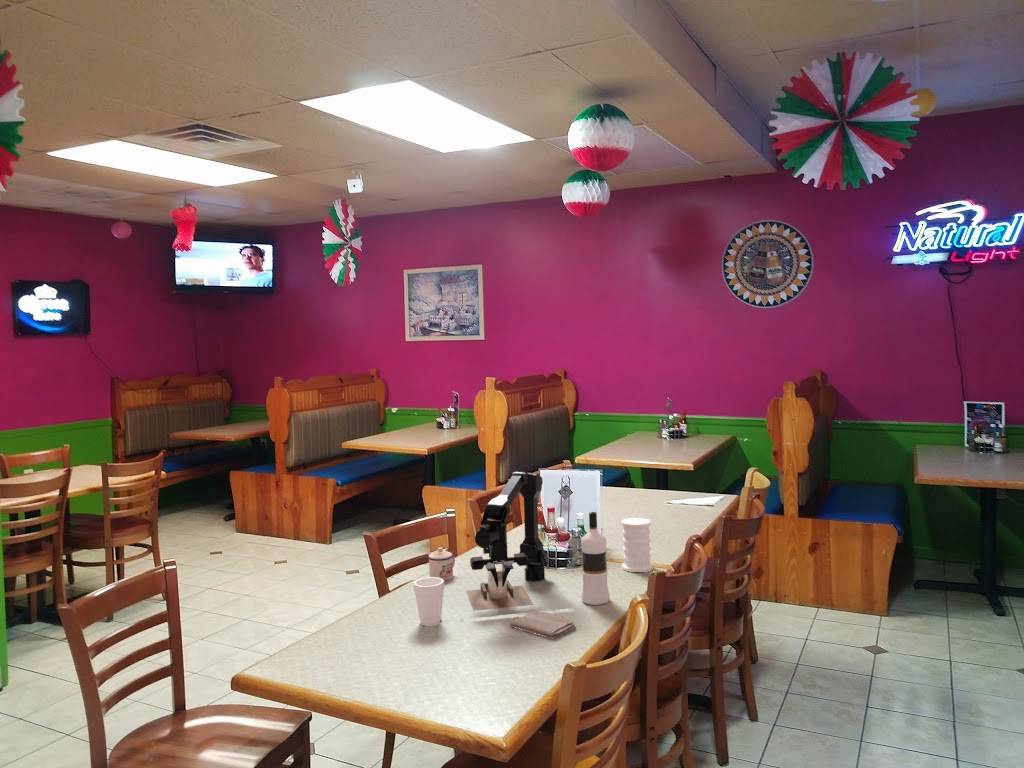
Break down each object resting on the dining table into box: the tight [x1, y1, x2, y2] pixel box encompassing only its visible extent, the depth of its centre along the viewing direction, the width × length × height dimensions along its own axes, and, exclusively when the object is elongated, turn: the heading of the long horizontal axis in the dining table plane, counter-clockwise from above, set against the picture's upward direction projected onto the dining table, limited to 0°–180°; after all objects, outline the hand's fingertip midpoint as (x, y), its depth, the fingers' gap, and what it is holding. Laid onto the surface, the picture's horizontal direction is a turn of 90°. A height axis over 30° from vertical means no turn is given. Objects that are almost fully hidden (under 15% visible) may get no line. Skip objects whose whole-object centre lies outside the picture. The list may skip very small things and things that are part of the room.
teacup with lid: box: [427, 547, 456, 581], centre depth 283 cm, size 12×9×12 cm
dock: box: [466, 580, 534, 611], centre depth 257 cm, size 20×20×4 cm
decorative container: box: [620, 517, 654, 573], centre depth 286 cm, size 12×12×18 cm
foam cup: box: [413, 576, 445, 627], centre depth 239 cm, size 10×9×13 cm
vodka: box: [580, 511, 611, 606], centre depth 252 cm, size 9×9×30 cm
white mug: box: [487, 566, 508, 599], centre depth 257 cm, size 10×6×9 cm, turn 10°
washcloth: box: [509, 609, 577, 640], centre depth 231 cm, size 12×18×3 cm, turn 50°
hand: (500, 586), depth 252 cm, fingers closed on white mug
